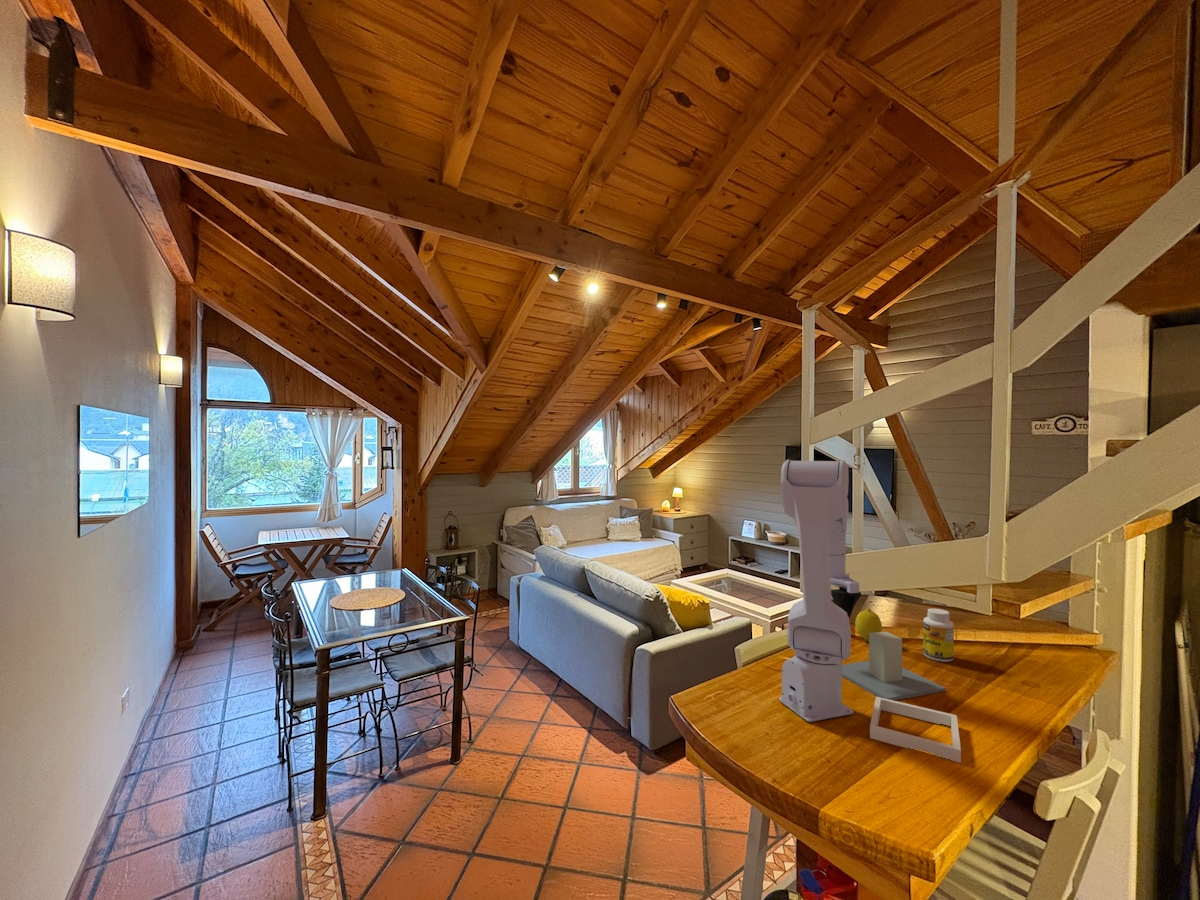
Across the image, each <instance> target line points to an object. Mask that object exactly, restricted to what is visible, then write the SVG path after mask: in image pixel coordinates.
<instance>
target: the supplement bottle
mask: <svg viewBox="0 0 1200 900" xmlns="http://www.w3.org/2000/svg"><path fill="white" fill-rule="evenodd" d="M926 614H927V616H925V617H924V618H923V619H922V624H923V625H922V626H923V627H922V628H923V629H922V630H923V631H922V633H923V634H922V645H923V646H922V647H923V648H922V653H923V656H925V657H926V658H927V659H930V660H931V661H932V660H933V661H936V662H939V661H940V662H941V663H949V662H950V663H951V662H953V660H954V657H955V655H954V652H955V651H954V650H955V643H954V642H955V641H954V640H955V624H954V622H952V621H951V620H950V612H949V611H948V610H945V609H941V608H932V607H931V608H928V609H927V613H926Z"/></svg>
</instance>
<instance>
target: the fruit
mask: <svg viewBox="0 0 1200 900" xmlns="http://www.w3.org/2000/svg"><path fill="white" fill-rule="evenodd" d="M854 622H855V623H854V624H855V629H856V631H857V633H858V634H859V635H860V637H862V638H863V639H864V640H865V641H866V642H867V643H869V633H876V632H882V629H883V626H882V624H883V623H882V621H881V619H880V617H879V615H878V614H877V613H876V612H874V611H873V610H871V608H870V607H867V608H866V610H862V611H860V612H859V613H858V614H857V616H856V618H855V621H854Z"/></svg>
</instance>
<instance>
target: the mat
mask: <svg viewBox="0 0 1200 900" xmlns="http://www.w3.org/2000/svg"><path fill="white" fill-rule="evenodd" d="M842 678H844V679H846V680H847V681H849V682H851V683H853V684H855V685H856V686H858V687H860V688H862V689H864V690H865V691H866V692H869V693H871V694H872V695H874V696H876V697H881V698H885V699H889V700H893V701H898V700H904V699H909V698H915V697H920V696H924V695H925V696H926V695H931V694H932V695H933V694H937V693H941V692H943V693H944V692H946V687H945V686H943V685H942V684H941V685H940V684H938V683H936V682H934V681H932V680H930V679H928V678H925V677H923V676H922V675H920V674H917V673H915V672H913V671H911V670H910V669H907V668H904V667H903V666H902V680H900V681H891V682H883V681H881V680H880V679H878V678H876V677H875V676H873V675H871V674H870V673H869V660H865V661H858V662H852V663H851V662H850V663H844V664H842Z"/></svg>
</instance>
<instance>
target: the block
mask: <svg viewBox="0 0 1200 900" xmlns="http://www.w3.org/2000/svg"><path fill="white" fill-rule="evenodd" d="M868 661H869V673H870V674H871V675H873V676H875V677H876V678H878V679H880V680H881V681H883V682H891V681H900V680H902V667H903V639H902V638H901V637H898V636H897V635H894V634H893V633H890V632H888V631H881V632H876V633H869V642H868Z"/></svg>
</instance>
